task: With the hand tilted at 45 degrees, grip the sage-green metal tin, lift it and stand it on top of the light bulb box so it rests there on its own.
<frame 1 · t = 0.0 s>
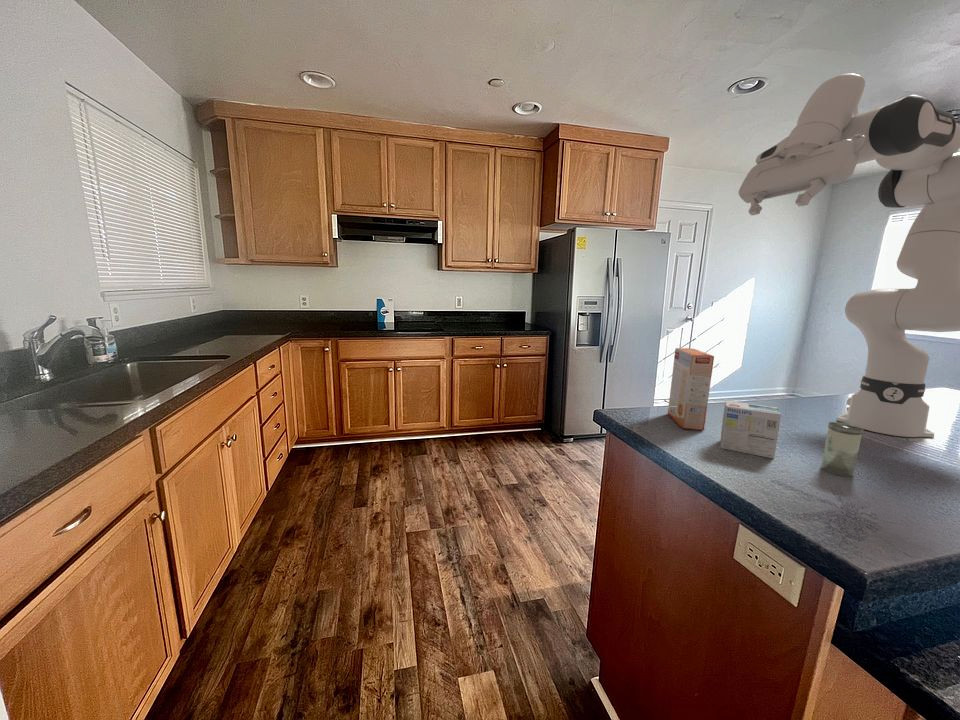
hand: (775, 209, 78), 54 cm above the counter, tool tilted 30°, fingers open, 8 cm apart
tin: (836, 471, 79), on the counter
light bulb box: (745, 450, 89), on the counter
cracker box: (684, 422, 108), on the counter
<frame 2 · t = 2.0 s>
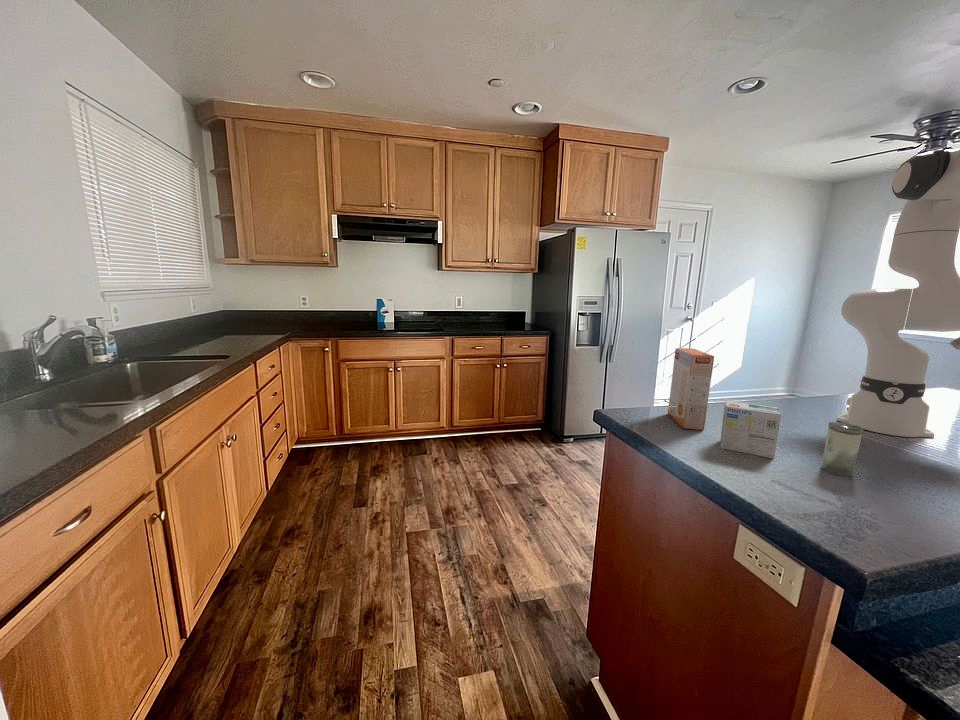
hand: (959, 349, 66), 28 cm above the counter, tool tilted 45°, fingers open, 8 cm apart
nothing on the counter moved.
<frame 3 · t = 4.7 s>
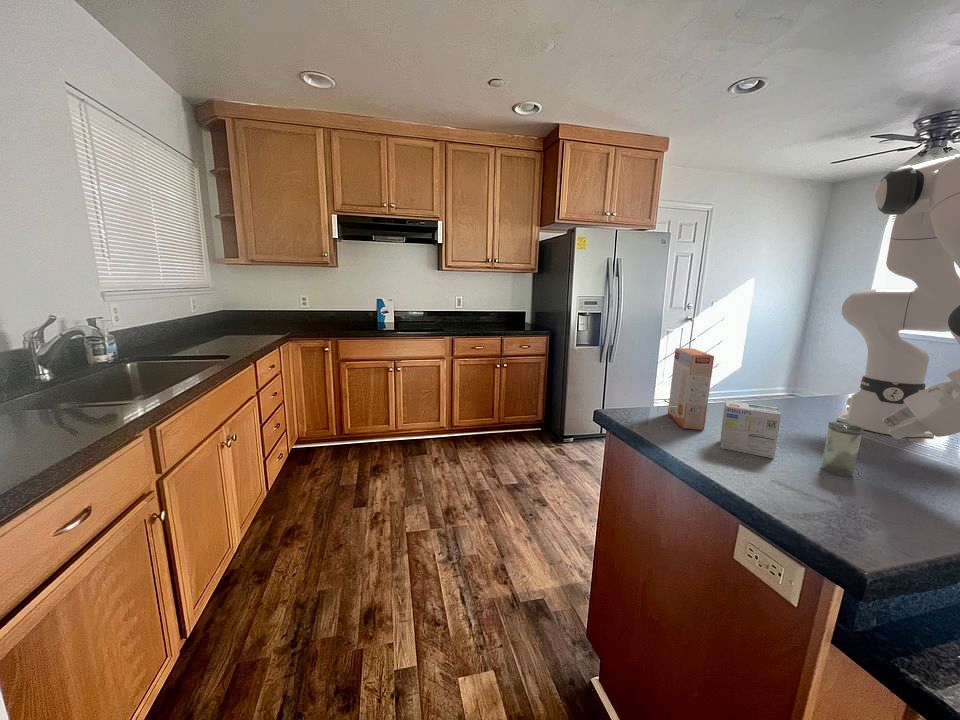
hand: (888, 429, 73), 11 cm above the counter, tool tilted 45°, fingers open, 8 cm apart
nothing on the counter moved.
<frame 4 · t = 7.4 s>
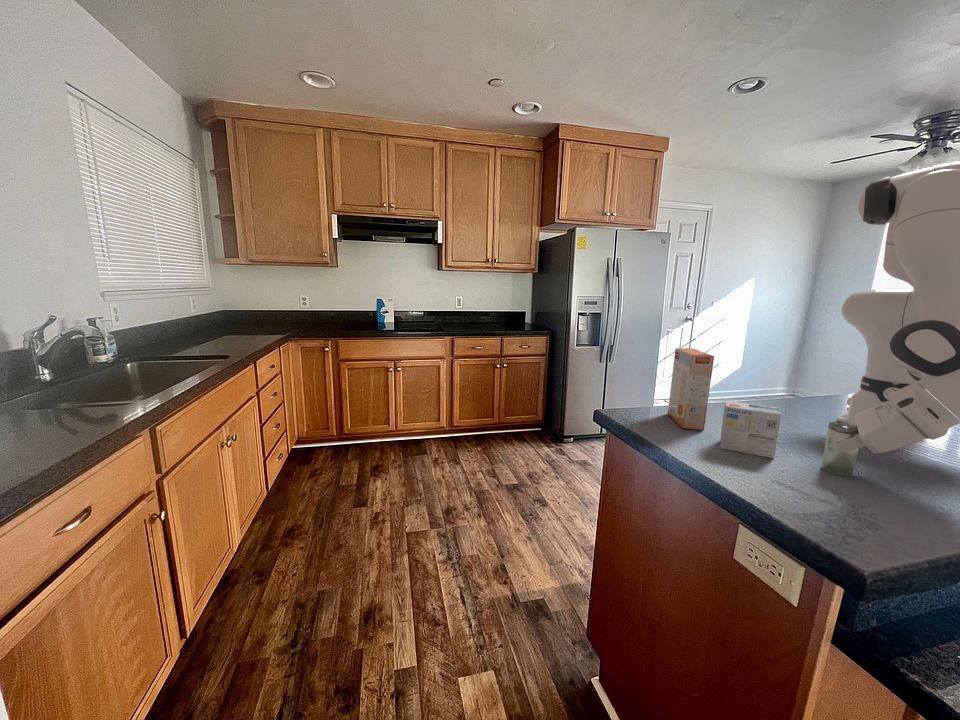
hand: (837, 443, 78), 6 cm above the counter, tool tilted 45°, fingers closed on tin, 5 cm apart
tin: (836, 471, 79), on the counter, touching gripper
everything else where it was.
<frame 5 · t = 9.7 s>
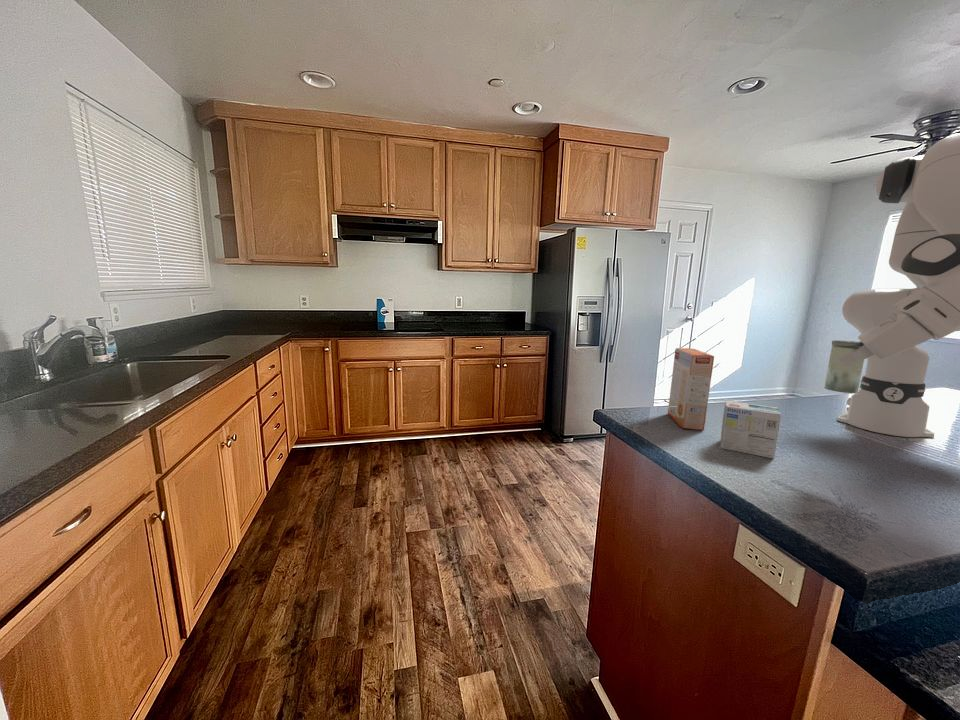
hand: (841, 361, 76), 23 cm above the counter, tool tilted 45°, fingers closed on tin, 5 cm apart
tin: (840, 389, 77), point 17 cm above the counter, touching gripper
everything else where it was.
when the fingers open (18 cm above the counter, at t = 12.5 s): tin drops 2 cm, resting on light bulb box.
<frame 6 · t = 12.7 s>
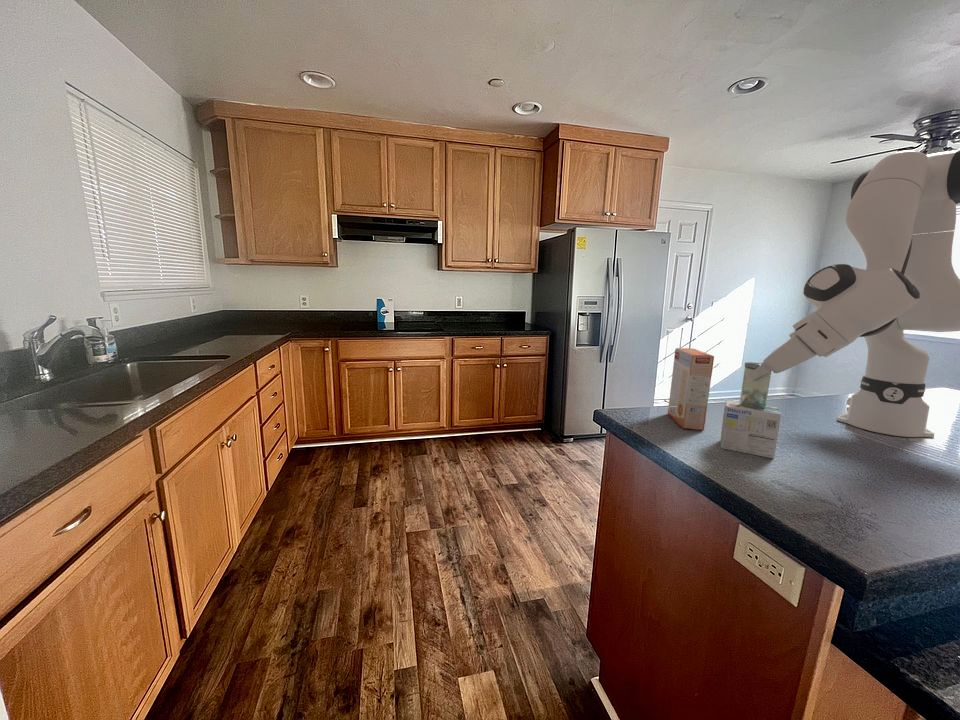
hand: (753, 374, 87), 18 cm above the counter, tool tilted 45°, fingers open, 7 cm apart
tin: (752, 406, 88), point 11 cm above the counter, touching light bulb box
light bulb box: (745, 449, 90), on the counter, touching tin
everything else where it was.
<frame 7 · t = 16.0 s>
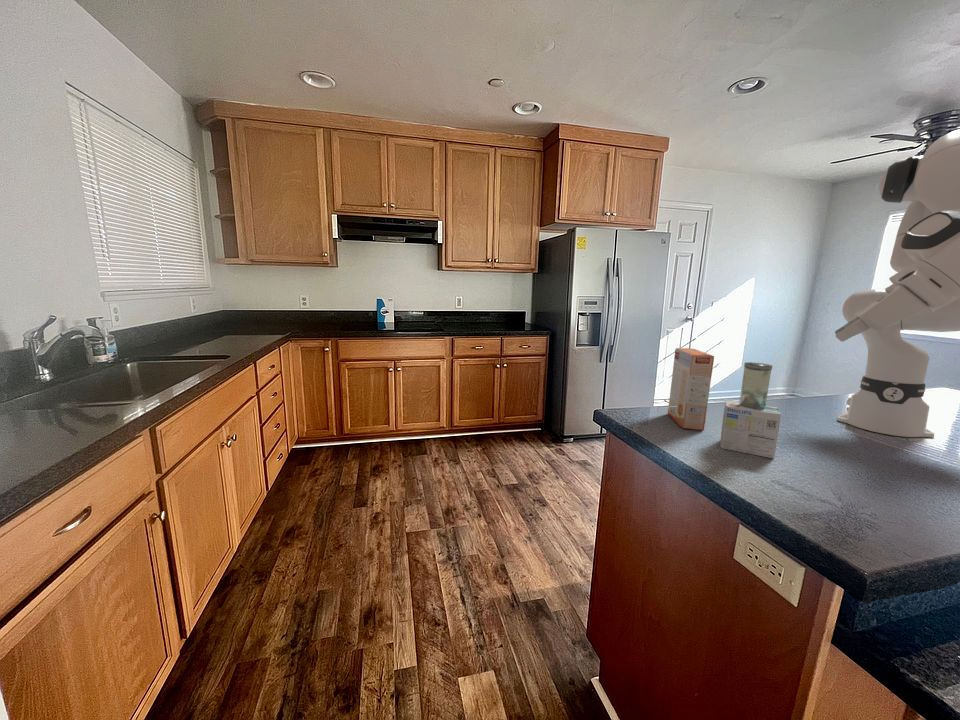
hand: (837, 336, 76), 28 cm above the counter, tool tilted 45°, fingers open, 8 cm apart
nothing on the counter moved.
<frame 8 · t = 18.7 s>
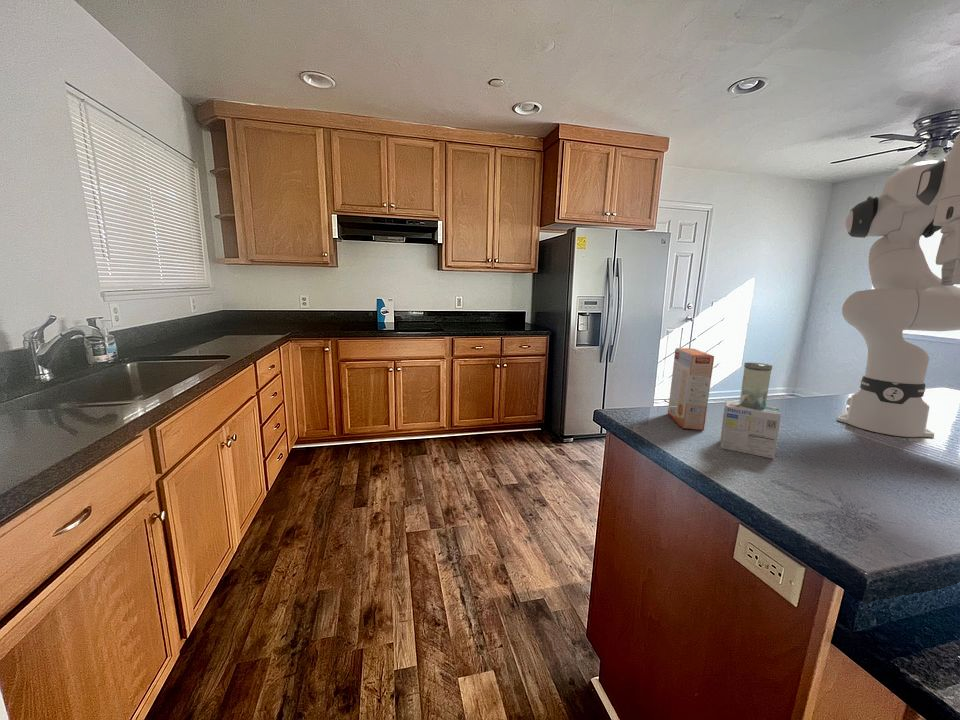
hand: (952, 285, 75), 39 cm above the counter, tool pointing down, fingers open, 8 cm apart
nothing on the counter moved.
at the end: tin 0.0 cm off-centre on the light bulb box, point 11.0 cm above the light bulb box's base; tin tilted 0°; the gripper is holding nothing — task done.
